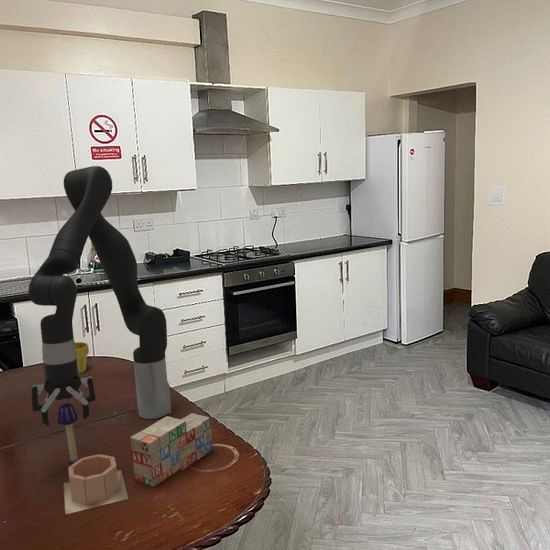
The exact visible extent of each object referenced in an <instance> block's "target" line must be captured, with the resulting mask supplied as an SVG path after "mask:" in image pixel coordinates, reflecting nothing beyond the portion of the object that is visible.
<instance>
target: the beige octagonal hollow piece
mask: <svg viewBox="0 0 550 550" xmlns="http://www.w3.org/2000/svg"><path fill="white" fill-rule="evenodd" d="M78 459H79V460H78V461H77V462H75V463H74V464H72V465H71V466H67V468H68V469H67V470H68V479H69V482H70V489H71V497H72V501H73V502H77V503H81V504H85V505H89V504H93V503H97V502H101V501H105V500H108V499H109V498H110V497H111V496H112V495H114V494H115V493H116V492H117V491H118V490H119V486H118V476H117V471H118V469H117V463H116V458H115V456H113V455H111V456H110V455H106V454H101V453H100V454H95V455H94V454H93V455H90V456H84V457H82V458H78Z"/></svg>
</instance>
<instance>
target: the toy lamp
mask: <svg viewBox="0 0 550 550" xmlns="http://www.w3.org/2000/svg"><path fill="white" fill-rule="evenodd" d="M78 418H79V416H78V414H77V412H76V410H75V407H74V406H73V404H72V403H69V402H68V403H67V402H66V403H63V404H61V405H60V406H59V407H58V415H57V424H59V425H62V426H65V432H66V438H67V446H68V448H67V449H68V450H69V451H68V454H69V461H68V462H67V464H66V465H67V467H69V466H71V465H72V464H74V463H75V462H77V461H78V460H79V459H80V458H79V457H78V455H77V454H78V452H77V451H78V450H77V445H76V438H75V432H74V427H73V424H75V422H77V421H78V420H79V419H78Z"/></svg>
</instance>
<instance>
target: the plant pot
mask: <svg viewBox="0 0 550 550" xmlns="http://www.w3.org/2000/svg"><path fill="white" fill-rule="evenodd" d="M74 342H75V341H74ZM75 346H76V353H77V365H78V375H79V374H82V373H84V372H85V371H86V370H87V362H88V355H89V353H90V349H89V344H88V343H86V342H85V341H84V342H83V341H78V342H77V341H76V342H75Z"/></svg>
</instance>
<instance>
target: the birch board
mask: <svg viewBox="0 0 550 550" xmlns="http://www.w3.org/2000/svg"><path fill="white" fill-rule="evenodd" d="M117 476H118V486H119V490H118V491H117V492H116V493H115V494H114V495H112V496H111V497H110V498H109V499H108V500H105V501H101V502H97V503H93V504H89V505H85V504H81V503H77V502H73V501H72V497H71V489H70V481H68V482H63V496H64V512H65V513H64V514H65V515H70V514H73V513H78V512H81V511H86V510H90V509H93V508H97V507H101V506H105V505H106V506H107V505H108V504H113V503H116V502H121V501H126V500H129V496H128V495H129V494H128V493H127V488H126V484H125V480H124V476H123V473H122V469H119V470H117Z"/></svg>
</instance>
